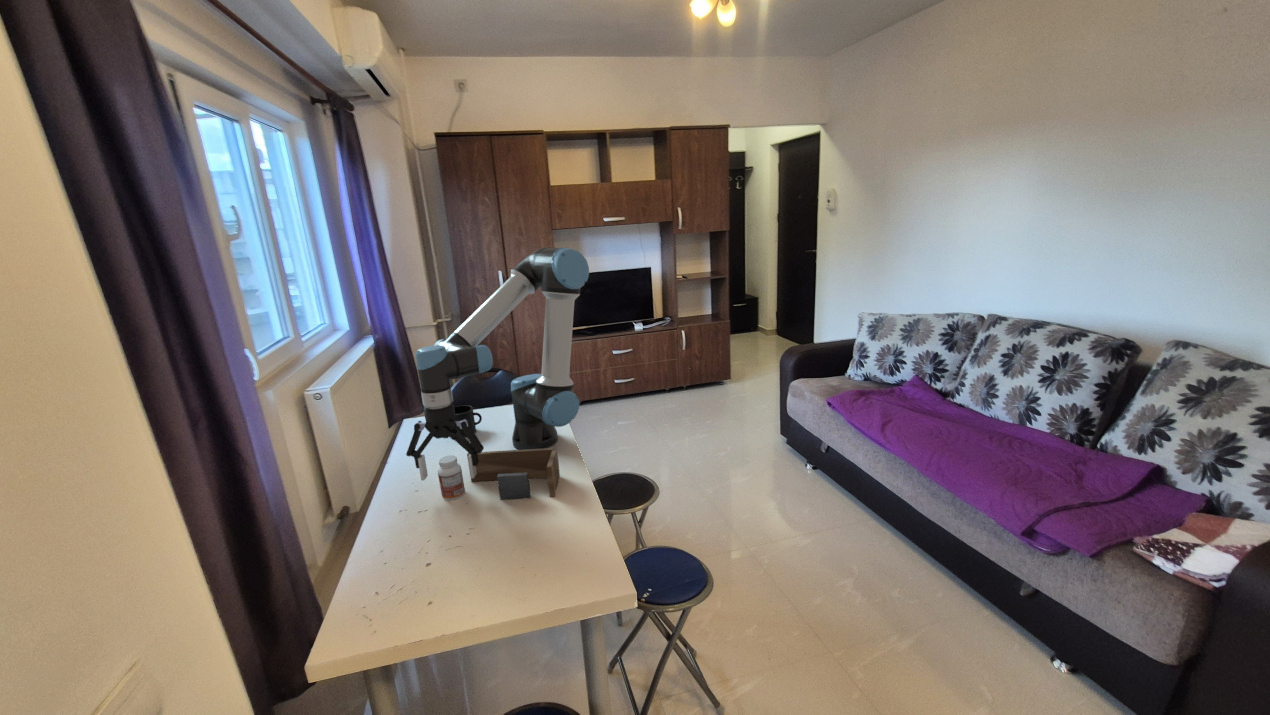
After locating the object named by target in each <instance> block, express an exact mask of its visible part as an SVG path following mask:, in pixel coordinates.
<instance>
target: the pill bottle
mask: <svg viewBox="0 0 1270 715" xmlns="http://www.w3.org/2000/svg"><path fill="white" fill-rule="evenodd" d="M438 465H439V467H438V469H437V476H438V482H439V488H440V493H441V496H442V498H443V499H444V500H446V501H452V500H453V501H454V500H457V499H460V498H461V497H463V496H464V495H465V494H466V492H465V491H466V489H465V483H464V477H463V470H462V467H461V464H460V463H458V459H457V456H456V455H454V454H453V455H451V454H450V455H449V454H448V455H444V456H443V457H441V458H439V459H438Z"/></svg>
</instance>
